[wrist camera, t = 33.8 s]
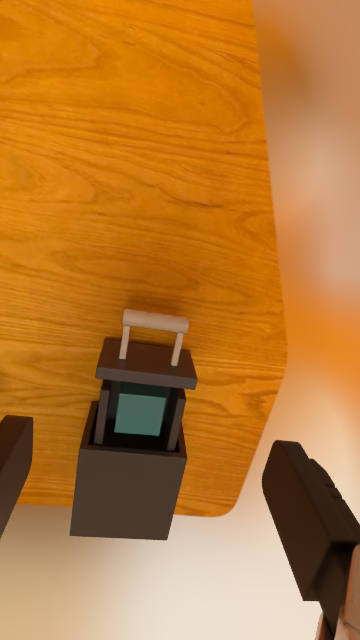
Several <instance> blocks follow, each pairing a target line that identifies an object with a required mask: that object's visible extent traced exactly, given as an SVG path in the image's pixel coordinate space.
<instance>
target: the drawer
mask: <svg viewBox="0 0 360 640" xmlns="http://www.w3.org/2000/svg"><path fill="white" fill-rule="evenodd" d="M122 325H124V328H123V335H122V341H117V340H109V339H105V340H104V344H103V347H102V351H101V354H100V358H99V361H98V364H97V369H96V378H98V379H103V383H102V387H101V392H100V400H99V408H98V415H97V423H96V431H95V439H94V445H96V446H107V447H119V448H130V449H142V450H153V451H165V452H174V450H175V446H176V441H177V437H178V433H179V428H180V424H181V420H182V415H183V411H184V407H185V402H186V397H185V392H184V389H191V390H195V388H196V384H197V380H198V379H197V375H196V372H195V368H194V365H193V361H192V357H191V354H190V351H189V350H183V349H181V344H182V339H183V335H184V334H183V333H187V330H188V325H189V319H188V318H186V317H180V316H173V315H166V314H160V313H153V312H146V311H140V310H133V309H126V308H124V312H123V319H122ZM130 326H136V327H143V328H150V329H157V330H164V331H171V332H177V334H176V338H175V343H174V348H168V347H161V346H153V345H146V344H139V343H131V342H128V339H129V332H130ZM121 381H123V382H132V383H140V384H149V385H157V386H165V390H166V403H165V408H164V413H163V419H162V424H161V429H160V434H159V436H155V435H142V434H130V433H118V432H114V429H115V421H116V414H117V406H118V399H119V392H120V384H121Z"/></svg>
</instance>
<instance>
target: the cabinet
mask: <svg viewBox="0 0 360 640" xmlns="http://www.w3.org/2000/svg"><path fill="white" fill-rule="evenodd" d="M98 408H99V402H96V401H92V403H91V407H90V411H89V415H88V418H87V422H86V426H85V430H84V434H83V437H82V441H81V445H80V449H79V457H78V466H77V475H76V483H75V492H74V501H73V510H72V519H71V528H70V536H83V537H107V538H128V539H151V540H167V538H168V534H169V530H170V526H171V522H172V518H173V514H174V510H175V506H176V502H177V498H178V494H179V490H180V486H181V482H182V478H183V473H184V469H185V465H186V461H187V454H186V447H185V441H184V434H183V428H182V421H181V424H180V428H179V433H178V437H177V441H176V446H175V450H174V452H165V451H153V450H142V449H130V448H119V447H107V446H96V445H94V439H95V431H96V423H97V415H98Z"/></svg>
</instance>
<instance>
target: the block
mask: <svg viewBox="0 0 360 640" xmlns="http://www.w3.org/2000/svg"><path fill="white" fill-rule="evenodd" d="M165 403H166V390H165V386H157V385H149V384H140V383H132V382H123V381H121V384H120V392H119V399H118V406H117V414H116V421H115V429H114V432H118V433H130V434H142V435H155V436H159V434H160V429H161V424H162V419H163V413H164V408H165Z"/></svg>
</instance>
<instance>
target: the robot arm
mask: <svg viewBox="0 0 360 640" xmlns="http://www.w3.org/2000/svg"><path fill="white" fill-rule="evenodd" d="M32 448H33V418H32V417H26V416H15V415H6V416H5V417H4V418H3V420H2V421H1V423H0V538H1V536H2V534H3V532H4V529H5V527H6V525H7V522H8V520H9V518H10V515H11V513H12V511H13V508H14V506H15V504H16V502H17V499H18V497H19V495H20V492H21V490H22V488H23V486H24V483H25V481H26V479H27V476H28V473H29V470H30V466H31V461H32ZM262 488H263V493H264V496H265V499H266V501H267V504H268V507H269V510H270V512H271V515H272V518H273V520H274V523H275V526H276V529H277V531H278V534H279V536H280V539H281V542H282V545H283V547H284V550H285V553H286V556H287V558H288V561H289V564H290V566H291V569H292V572H293V574H294V577H295V580H296V583H297V585H298V588H299V591H300V593H301V596H302V599H303V601H319V603H320V605H321V608H322V610H323V611H322V613H321V615H320V618H319V623H318V627H317V632H316V637H315V640H360V524H359V523H358V521H357V520H356V518H355V516H354V515H353V513H352V512H351V510H350V508H349V507H348V505H347V504H346V502H345V500H343V499H342V496H341V494H340V492H339V491H338V489H337V488H335V484H334V483H333V481H332V480H331V478H330V476H329V475H328V473H327V472H326V471H325V470H324V469H323V468H322V467H321V466H320V465H319V464H318V463H317V462H316V461H315V460H314V459H309V458H308V456H307V454H306V453H305V451H304V449H303V448H302V446H301V445H300V444H299V443H298V442H293V441H282V440H276V441H275V442H274V443H273V445H272V448H271V451H270V454H269V457H268V460H267V463H266V466H265V469H264V472H263V476H262Z"/></svg>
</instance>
